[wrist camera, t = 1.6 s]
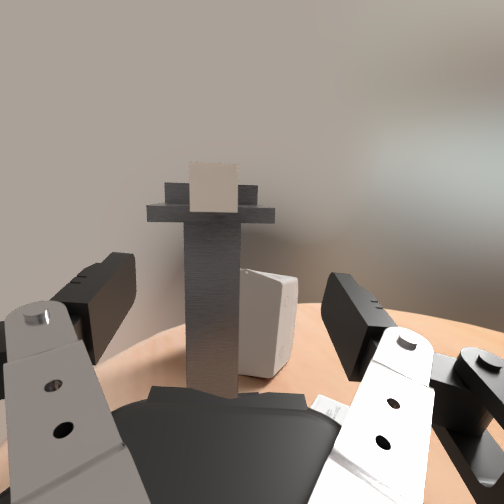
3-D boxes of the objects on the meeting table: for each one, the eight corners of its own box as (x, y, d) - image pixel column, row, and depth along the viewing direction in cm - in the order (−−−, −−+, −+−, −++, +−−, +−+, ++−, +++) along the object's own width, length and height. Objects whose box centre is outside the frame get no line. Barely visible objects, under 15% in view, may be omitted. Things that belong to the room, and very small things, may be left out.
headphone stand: (279, 491, 33) (295, 181, 26) (142, 508, 30) (122, 175, 24) (257, 400, 47) (265, 186, 41) (164, 407, 45) (155, 183, 38)
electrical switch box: (298, 357, 64) (307, 269, 63) (272, 386, 51) (283, 275, 49) (241, 341, 71) (249, 261, 69) (205, 362, 57) (214, 264, 56)
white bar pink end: (248, 212, 18) (250, 140, 18) (178, 211, 18) (176, 136, 17) (229, 204, 36) (230, 168, 35) (194, 203, 35) (193, 166, 34)
